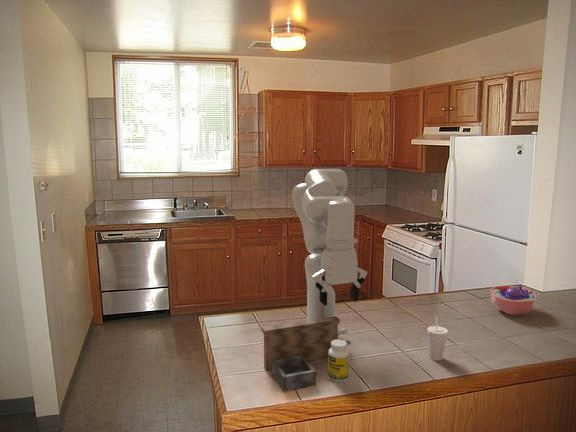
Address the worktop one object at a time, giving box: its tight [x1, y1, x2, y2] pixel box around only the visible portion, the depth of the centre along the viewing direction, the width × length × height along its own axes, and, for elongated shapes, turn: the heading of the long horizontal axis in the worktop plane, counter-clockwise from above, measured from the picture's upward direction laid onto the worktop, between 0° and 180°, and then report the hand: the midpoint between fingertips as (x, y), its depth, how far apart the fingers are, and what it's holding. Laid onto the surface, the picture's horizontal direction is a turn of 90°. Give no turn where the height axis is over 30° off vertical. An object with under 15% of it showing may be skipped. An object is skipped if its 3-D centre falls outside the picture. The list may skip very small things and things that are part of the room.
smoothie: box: [426, 316, 449, 362], centre depth 149 cm, size 6×6×14 cm
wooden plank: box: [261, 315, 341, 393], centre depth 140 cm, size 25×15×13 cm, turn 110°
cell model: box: [490, 285, 538, 316], centre depth 188 cm, size 17×20×11 cm
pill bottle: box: [327, 339, 350, 383], centre depth 138 cm, size 6×6×11 cm
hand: (339, 302), depth 134 cm, fingers open, 9 cm apart
